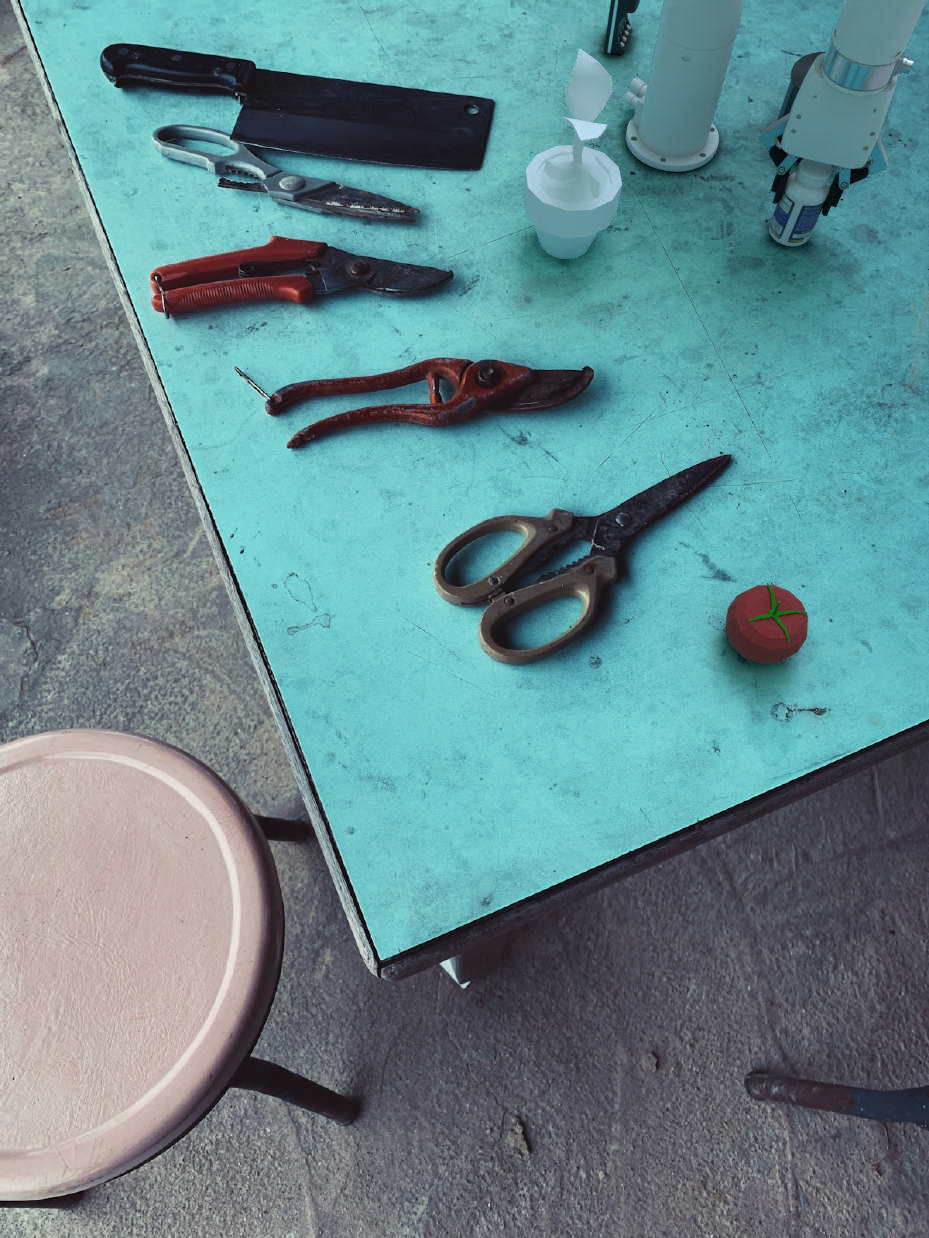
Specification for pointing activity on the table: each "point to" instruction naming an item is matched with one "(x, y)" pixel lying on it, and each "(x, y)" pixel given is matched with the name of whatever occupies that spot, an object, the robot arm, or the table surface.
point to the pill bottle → (801, 203)
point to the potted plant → (575, 171)
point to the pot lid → (802, 69)
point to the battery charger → (619, 25)
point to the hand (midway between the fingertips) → (801, 201)
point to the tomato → (766, 624)
